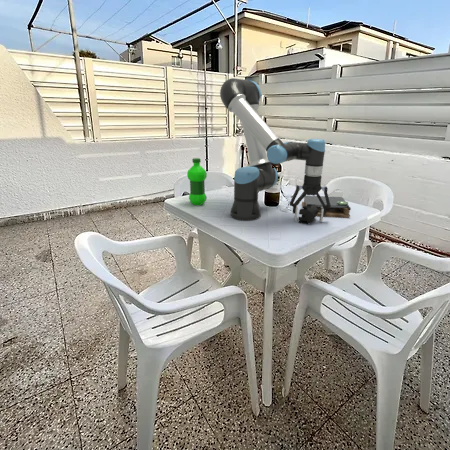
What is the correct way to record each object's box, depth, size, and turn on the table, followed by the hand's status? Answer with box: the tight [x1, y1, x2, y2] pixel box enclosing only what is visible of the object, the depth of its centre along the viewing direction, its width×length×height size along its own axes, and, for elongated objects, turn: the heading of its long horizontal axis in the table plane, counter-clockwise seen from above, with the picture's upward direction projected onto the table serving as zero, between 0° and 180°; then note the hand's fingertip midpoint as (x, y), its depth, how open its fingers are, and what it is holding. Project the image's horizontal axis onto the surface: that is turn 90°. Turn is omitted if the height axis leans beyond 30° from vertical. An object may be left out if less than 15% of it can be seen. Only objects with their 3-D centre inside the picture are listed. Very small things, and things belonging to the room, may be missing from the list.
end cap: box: [297, 205, 318, 225], centre depth 139 cm, size 10×7×7 cm
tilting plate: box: [303, 195, 350, 208], centre depth 152 cm, size 20×16×3 cm
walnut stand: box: [301, 198, 352, 219], centre depth 153 cm, size 21×20×5 cm
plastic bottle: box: [186, 157, 208, 206], centre depth 160 cm, size 10×10×25 cm
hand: (307, 220), depth 140 cm, fingers open, 11 cm apart
